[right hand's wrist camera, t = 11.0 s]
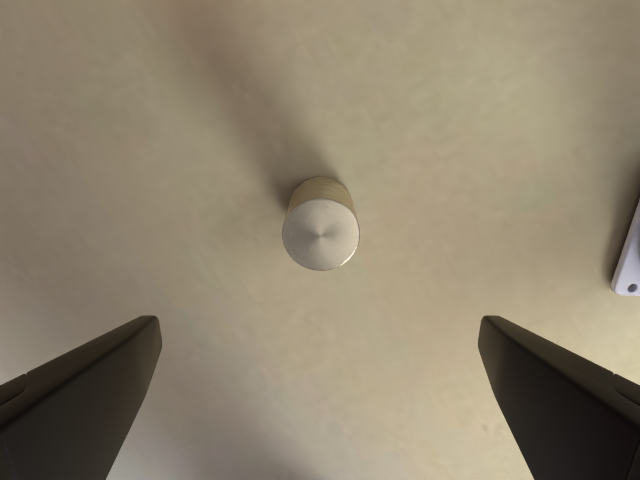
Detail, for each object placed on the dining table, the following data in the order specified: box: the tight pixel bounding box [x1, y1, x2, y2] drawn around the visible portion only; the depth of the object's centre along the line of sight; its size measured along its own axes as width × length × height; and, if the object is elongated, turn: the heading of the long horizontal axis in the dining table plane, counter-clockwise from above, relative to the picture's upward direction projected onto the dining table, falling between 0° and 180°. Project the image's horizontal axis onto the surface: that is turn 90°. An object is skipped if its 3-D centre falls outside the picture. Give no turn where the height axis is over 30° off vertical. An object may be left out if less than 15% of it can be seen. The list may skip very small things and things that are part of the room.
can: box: [282, 177, 360, 271], centre depth 21 cm, size 4×4×4 cm
